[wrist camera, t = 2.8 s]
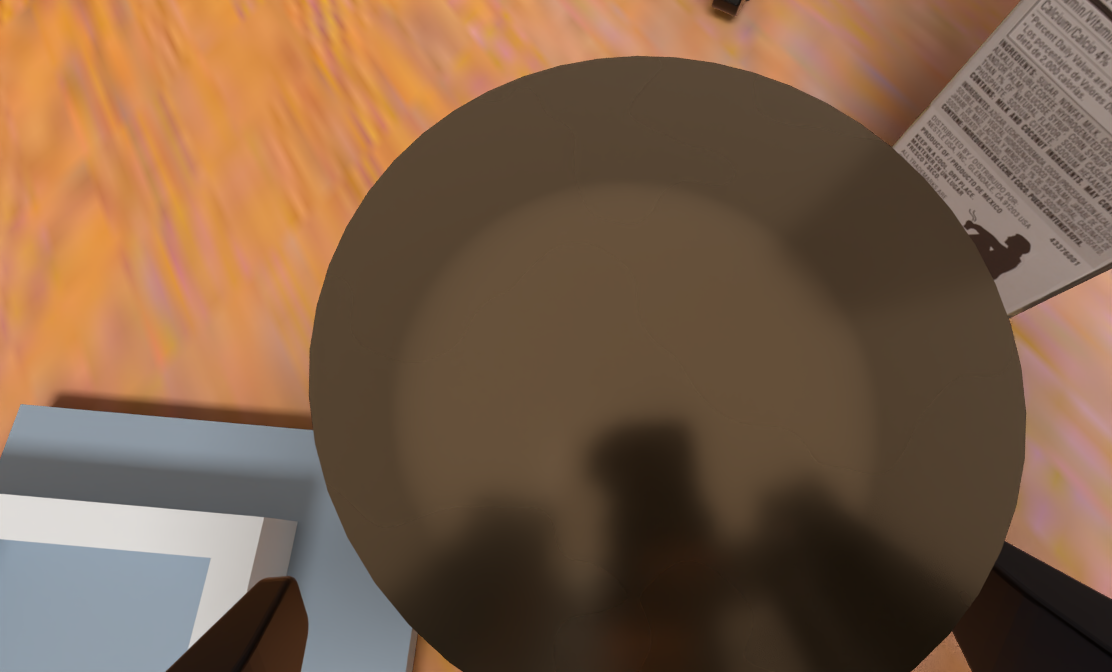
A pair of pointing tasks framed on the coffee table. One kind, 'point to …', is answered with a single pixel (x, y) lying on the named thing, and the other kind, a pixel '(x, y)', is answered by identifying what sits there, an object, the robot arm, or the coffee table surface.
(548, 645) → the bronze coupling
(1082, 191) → the cookie box
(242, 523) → the collar plate
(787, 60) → the coffee table surface
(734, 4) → the valve
